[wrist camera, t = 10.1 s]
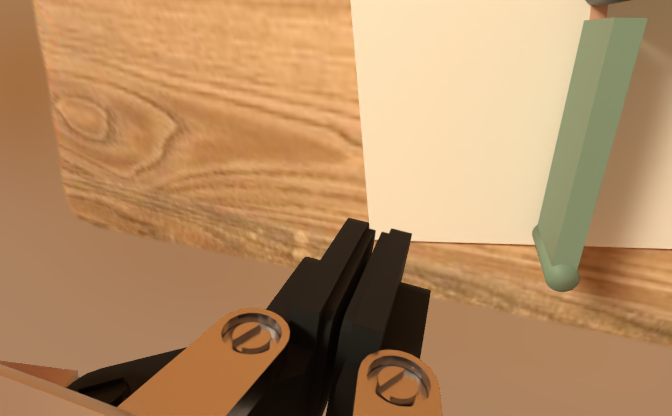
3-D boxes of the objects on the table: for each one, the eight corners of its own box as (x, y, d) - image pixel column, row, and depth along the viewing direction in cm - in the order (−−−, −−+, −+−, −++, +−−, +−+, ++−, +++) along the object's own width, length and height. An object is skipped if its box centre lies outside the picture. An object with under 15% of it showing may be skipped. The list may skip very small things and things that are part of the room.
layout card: (1001, -200, 17) (1015, -207, 16) (841, 250, 24) (848, 255, 23) (346, -71, 25) (344, -73, 24) (371, 237, 32) (370, 240, 32)
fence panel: (579, 20, 23) (610, 17, 18) (613, 20, 22) (654, 17, 17) (529, 242, 28) (542, 289, 23) (556, 246, 27) (575, 294, 22)
